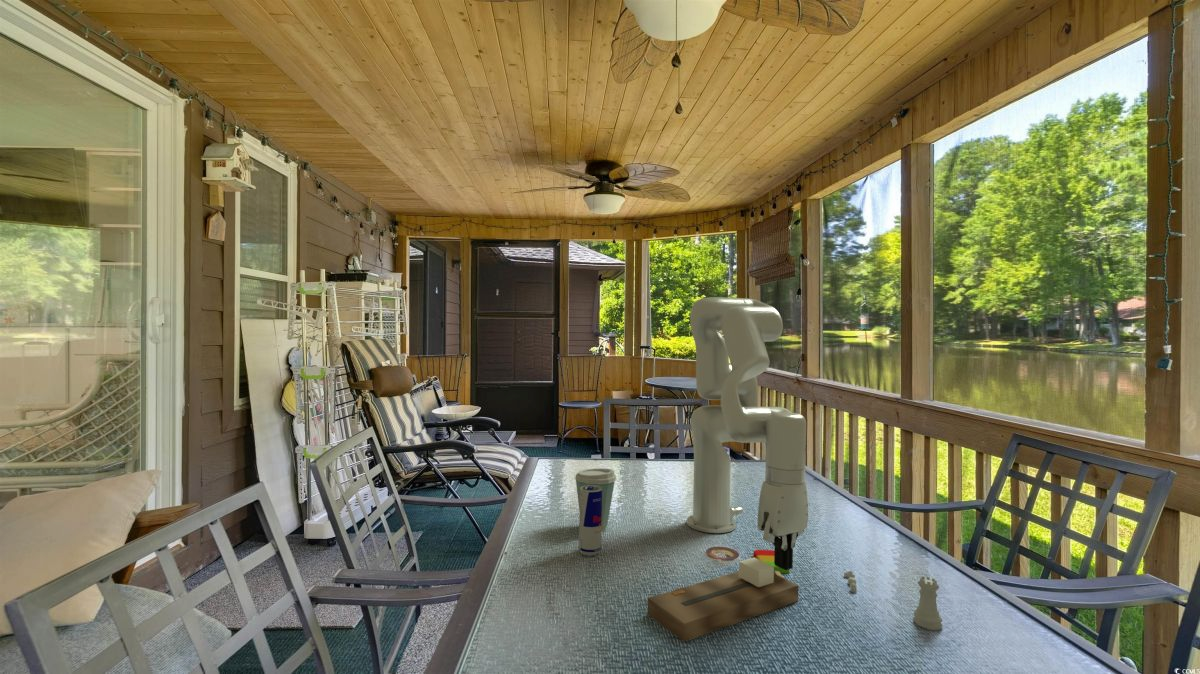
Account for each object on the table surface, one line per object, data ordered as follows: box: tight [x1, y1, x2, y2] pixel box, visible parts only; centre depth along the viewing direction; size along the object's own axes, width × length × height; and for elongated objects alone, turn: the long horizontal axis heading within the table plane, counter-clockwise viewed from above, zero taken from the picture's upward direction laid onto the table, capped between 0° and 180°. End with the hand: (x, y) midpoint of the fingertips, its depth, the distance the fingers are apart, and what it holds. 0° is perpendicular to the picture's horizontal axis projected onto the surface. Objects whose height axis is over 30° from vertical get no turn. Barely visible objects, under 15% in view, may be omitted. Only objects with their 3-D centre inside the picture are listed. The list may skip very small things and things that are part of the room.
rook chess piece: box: [912, 575, 943, 632], centre depth 96 cm, size 4×4×8 cm
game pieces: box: [843, 570, 858, 594], centre depth 112 cm, size 8×2×2 cm, turn 160°
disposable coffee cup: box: [574, 467, 617, 533], centre depth 141 cm, size 11×11×15 cm
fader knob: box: [738, 557, 775, 587], centre depth 105 cm, size 4×5×3 cm
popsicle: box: [752, 549, 790, 579], centre depth 118 cm, size 6×15×2 cm, turn 179°
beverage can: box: [578, 485, 603, 557], centre depth 125 cm, size 5×5×15 cm
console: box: [647, 570, 799, 643], centre depth 101 cm, size 28×10×3 cm, turn 121°
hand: (783, 566), depth 109 cm, fingers closed
